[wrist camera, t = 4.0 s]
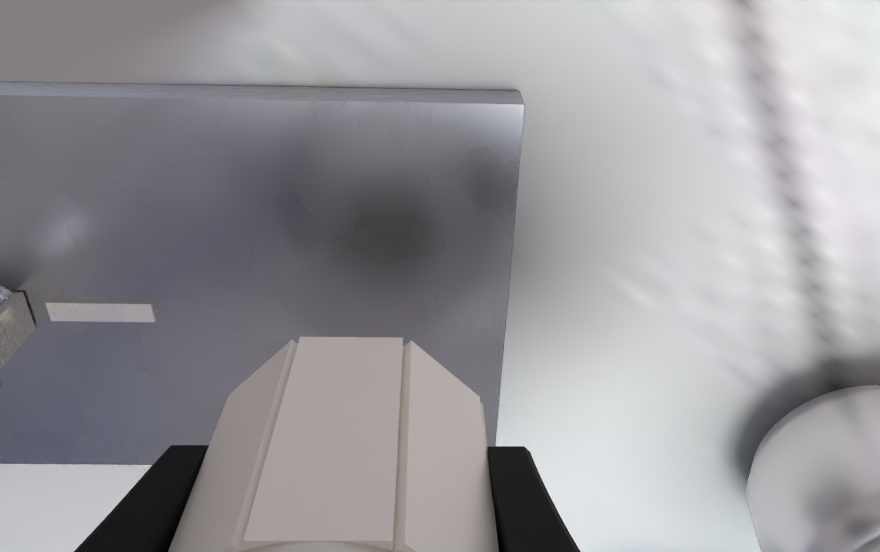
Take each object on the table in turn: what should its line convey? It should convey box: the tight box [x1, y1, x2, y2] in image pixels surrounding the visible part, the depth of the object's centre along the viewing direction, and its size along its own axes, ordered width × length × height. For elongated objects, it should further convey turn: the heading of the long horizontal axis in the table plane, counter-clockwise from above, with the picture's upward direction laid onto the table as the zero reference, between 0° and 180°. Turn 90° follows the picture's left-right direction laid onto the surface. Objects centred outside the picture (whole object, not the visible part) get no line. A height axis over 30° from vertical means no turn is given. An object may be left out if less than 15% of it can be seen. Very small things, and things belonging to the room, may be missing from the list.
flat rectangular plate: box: [0, 81, 525, 465], centre depth 15 cm, size 16×10×4 cm, turn 89°
